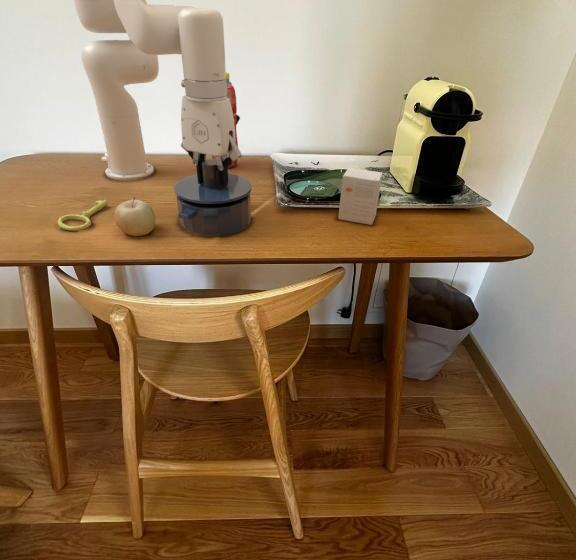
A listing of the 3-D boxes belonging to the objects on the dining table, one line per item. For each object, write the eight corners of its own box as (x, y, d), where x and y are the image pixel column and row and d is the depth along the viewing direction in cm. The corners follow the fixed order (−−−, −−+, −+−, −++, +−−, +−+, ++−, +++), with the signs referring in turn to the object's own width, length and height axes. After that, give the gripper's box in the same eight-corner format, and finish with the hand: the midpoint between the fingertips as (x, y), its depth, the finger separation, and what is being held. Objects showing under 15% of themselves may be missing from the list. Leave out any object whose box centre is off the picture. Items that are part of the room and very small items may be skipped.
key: (111, 207, 91) (109, 198, 90) (86, 232, 81) (83, 223, 80) (80, 205, 92) (77, 197, 90) (51, 230, 81) (48, 221, 80)
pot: (156, 231, 83) (151, 202, 79) (214, 197, 98) (212, 172, 95) (217, 249, 78) (215, 220, 74) (268, 211, 93) (268, 185, 89)
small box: (376, 215, 93) (383, 172, 87) (372, 225, 89) (380, 180, 83) (342, 210, 95) (348, 166, 89) (337, 219, 91) (342, 174, 85)
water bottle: (222, 156, 125) (216, 67, 111) (246, 159, 123) (244, 69, 109) (206, 168, 115) (199, 72, 101) (233, 172, 114) (228, 74, 99)
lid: (157, 196, 81) (152, 166, 77) (205, 172, 93) (203, 146, 89) (223, 213, 75) (221, 182, 72) (265, 186, 87) (265, 158, 84)
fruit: (155, 223, 86) (149, 188, 81) (158, 239, 80) (152, 202, 76) (118, 227, 84) (110, 191, 79) (118, 244, 78) (109, 206, 73)
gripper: (156, 87, 73) (169, 182, 83) (233, 98, 67) (237, 199, 78) (182, 82, 79) (192, 172, 89) (255, 91, 73) (256, 186, 83)
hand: (213, 183), depth 83 cm, fingers closed on lid, 4 cm apart
